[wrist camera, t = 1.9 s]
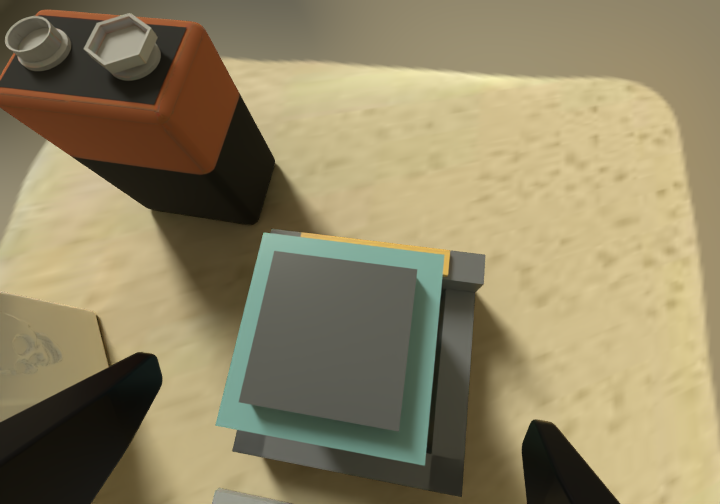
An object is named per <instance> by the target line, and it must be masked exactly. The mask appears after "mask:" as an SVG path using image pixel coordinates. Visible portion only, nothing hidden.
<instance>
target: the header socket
mask: <svg viewBox="0 0 720 504" xmlns="http://www.w3.org/2000/svg"><path fill="white" fill-rule="evenodd" d="M271 233H272V234H280V235H288V236H296V237H304V238H313V239H321V240H329V241H337V242H345V243H353V244H361V245H369V246H378V247H386V248H394V249H402V250H410V251H418V252H426V253H434V254H442V255H444V265H443V276H442V287H441V297H440V308H439V319H438V330H437V340H436V351H435V362H434V373H433V383H432V394H431V405H430V415H429V426H428V437H427V448H426V458H425V466H424V465H419V464H413V463H408V462H403V461H398V460H393V459H387V458H382V457H377V456H372V455H367V454H361V453H356V452H351V451H346V450H340V449H335V448H330V447H325V446H320V445H314V444H309V443H304V442H299V441H294V440H288V439H283V438H278V437H273V436H267V435H262V434H257V433H252V432H247V431H241V430H237V433H236V437H235V442H234V446H233V450H232V451H233V452H238V453H243V454H248V455H253V456H258V457H263V458H268V459H273V460H278V461H283V462H288V463H293V464H298V465H303V466H308V467H313V468H318V469H323V470H328V471H333V472H338V473H344V474H349V475H354V476H359V477H364V478H369V479H374V480H379V481H384V482H389V483H394V484H399V485H404V486H409V487H414V488H419V489H424V490H429V491H434V492H439V493H444V494H449V495H454V496H459V497H462V486H463V471H464V456H465V441H466V425H467V410H468V395H469V379H470V364H471V349H472V334H473V318H474V303H475V292H476V291H477V290H478V289H479V288H480V287H481V286H482V285H483V284H484V269H485V255H483V254H475V253H467V252H458V251H450V250H443V249H435V248H427V247H418V246H410V245H402V244H394V243H386V242H377V241H369V240H361V239H353V238H345V237H336V236H328V235H320V234H312V233H304V232H295V231H286V230H278V229H271Z"/></svg>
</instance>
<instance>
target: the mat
mask: <svg viewBox="0 0 720 504" xmlns="http://www.w3.org/2000/svg"><path fill="white" fill-rule="evenodd" d="M212 504H292V503H287V502H283V501H278V500H273V499H268V498H264V497H259V496H254V495H250V494H245V493H240V492H236V491H231V490H226V489H221V488H218V489H217V490H215V493H214V498H213V502H212Z"/></svg>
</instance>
